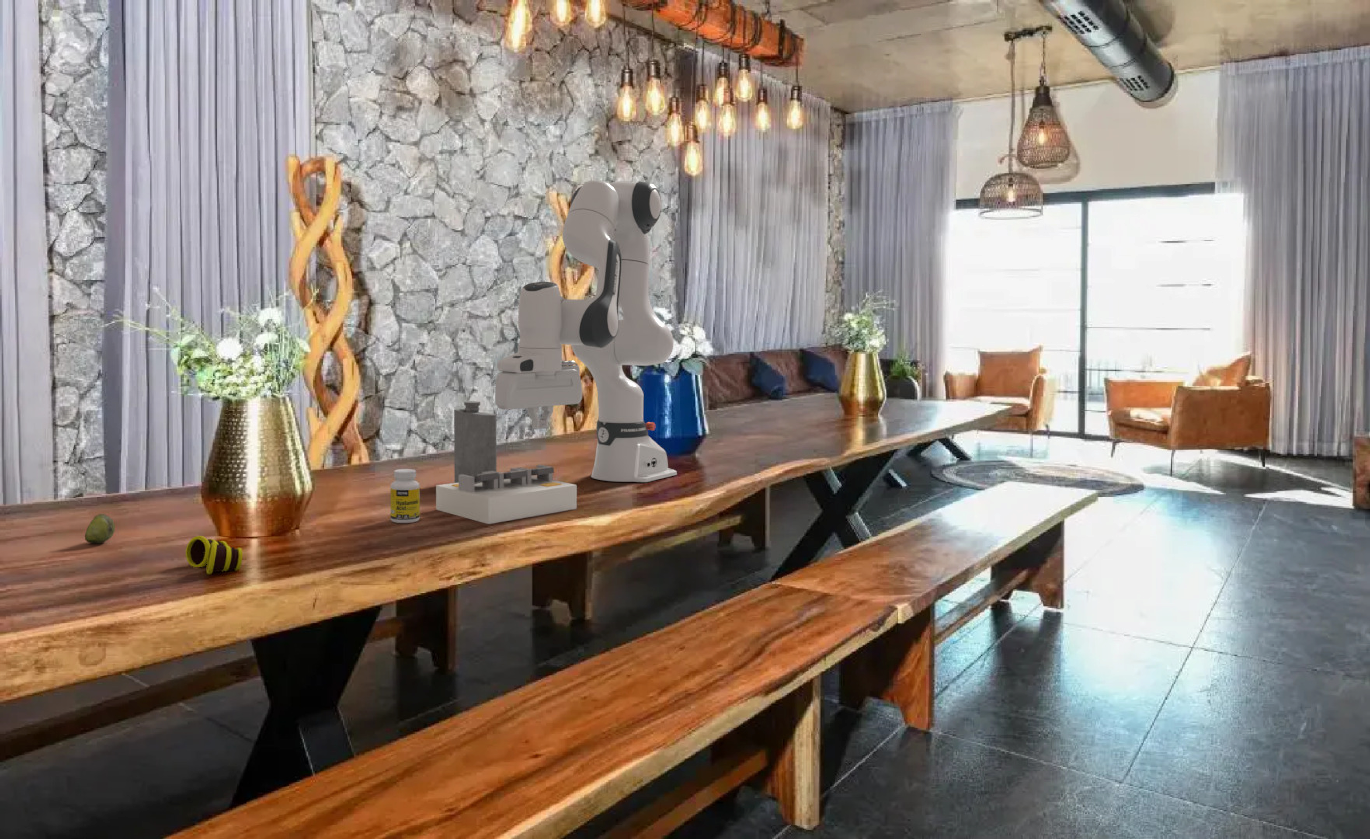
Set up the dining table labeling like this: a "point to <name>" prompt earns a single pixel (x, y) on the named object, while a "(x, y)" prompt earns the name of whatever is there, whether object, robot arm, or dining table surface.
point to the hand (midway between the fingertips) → (540, 428)
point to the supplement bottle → (405, 497)
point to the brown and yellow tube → (213, 555)
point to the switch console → (506, 497)
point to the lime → (100, 529)
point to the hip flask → (474, 441)
